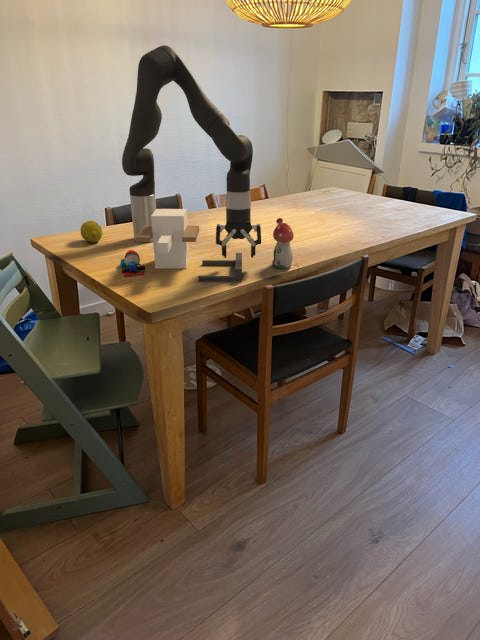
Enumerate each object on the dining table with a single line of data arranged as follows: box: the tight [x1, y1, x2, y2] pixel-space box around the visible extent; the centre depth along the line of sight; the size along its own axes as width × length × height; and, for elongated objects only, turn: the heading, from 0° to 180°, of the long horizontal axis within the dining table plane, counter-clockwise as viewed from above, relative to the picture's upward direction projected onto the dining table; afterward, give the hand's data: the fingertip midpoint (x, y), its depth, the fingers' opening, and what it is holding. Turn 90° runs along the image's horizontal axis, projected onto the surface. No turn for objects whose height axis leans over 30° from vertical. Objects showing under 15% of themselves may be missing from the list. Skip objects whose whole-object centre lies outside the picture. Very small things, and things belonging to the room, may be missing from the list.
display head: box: [135, 208, 200, 269], centre depth 149 cm, size 22×18×17 cm
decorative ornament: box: [271, 217, 294, 270], centre depth 153 cm, size 9×7×15 cm
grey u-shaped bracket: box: [198, 252, 243, 283], centre depth 149 cm, size 13×16×4 cm
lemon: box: [80, 220, 103, 244], centre depth 180 cm, size 11×8×8 cm
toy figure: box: [119, 249, 146, 277], centre depth 153 cm, size 8×5×15 cm
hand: (238, 257), depth 152 cm, fingers open, 8 cm apart
